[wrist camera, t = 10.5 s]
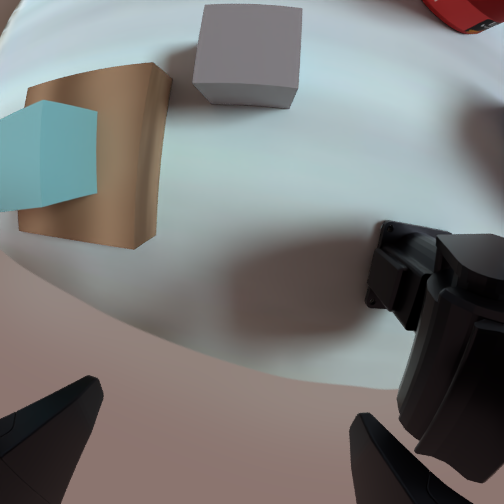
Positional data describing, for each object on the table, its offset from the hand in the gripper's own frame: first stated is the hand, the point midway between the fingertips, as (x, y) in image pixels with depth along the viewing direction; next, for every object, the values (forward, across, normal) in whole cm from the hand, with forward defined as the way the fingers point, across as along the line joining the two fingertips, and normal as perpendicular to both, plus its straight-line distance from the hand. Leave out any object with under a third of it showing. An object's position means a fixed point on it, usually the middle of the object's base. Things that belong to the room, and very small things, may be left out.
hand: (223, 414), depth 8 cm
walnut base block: (+12, +12, -8) cm, 19 cm away
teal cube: (+8, +12, -8) cm, 17 cm away
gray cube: (+12, +1, -14) cm, 18 cm away
